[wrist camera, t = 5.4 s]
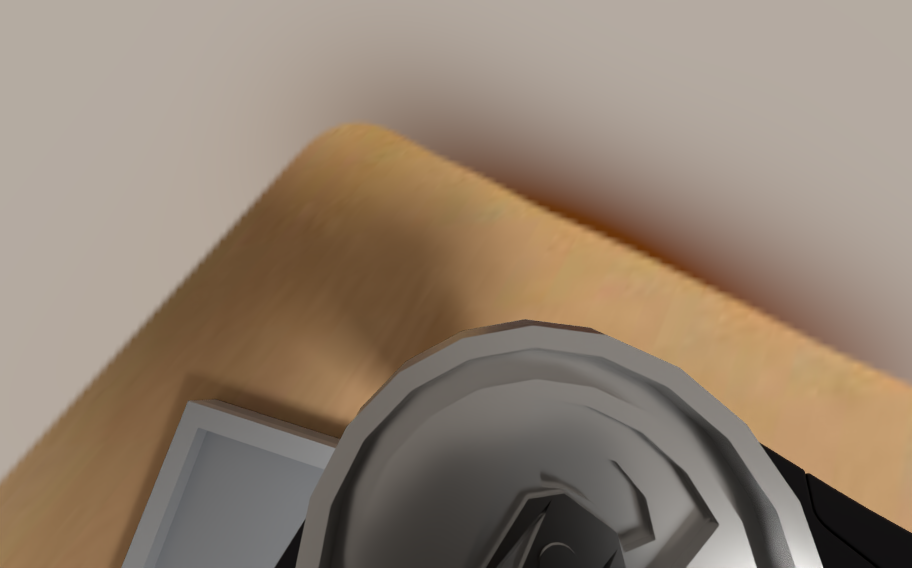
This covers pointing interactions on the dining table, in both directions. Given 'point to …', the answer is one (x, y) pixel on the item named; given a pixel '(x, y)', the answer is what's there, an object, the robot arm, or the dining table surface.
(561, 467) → the green soda can
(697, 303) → the dining table surface
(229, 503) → the coaster
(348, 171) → the dining table surface
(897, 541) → the robot arm
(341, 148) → the dining table surface
